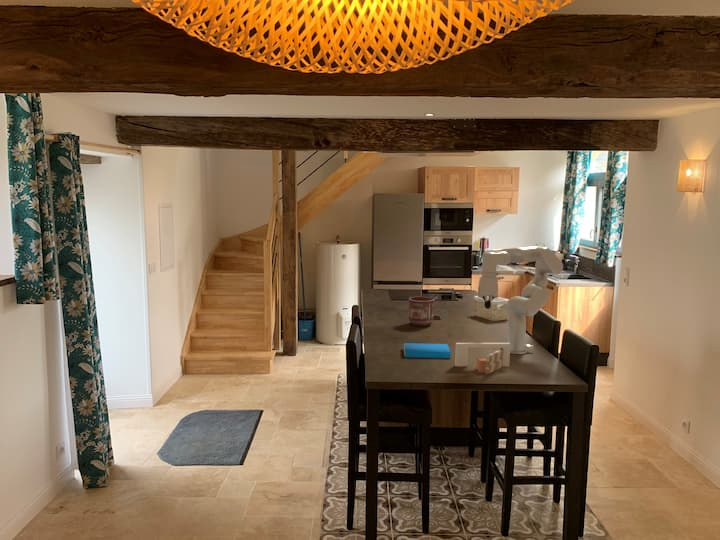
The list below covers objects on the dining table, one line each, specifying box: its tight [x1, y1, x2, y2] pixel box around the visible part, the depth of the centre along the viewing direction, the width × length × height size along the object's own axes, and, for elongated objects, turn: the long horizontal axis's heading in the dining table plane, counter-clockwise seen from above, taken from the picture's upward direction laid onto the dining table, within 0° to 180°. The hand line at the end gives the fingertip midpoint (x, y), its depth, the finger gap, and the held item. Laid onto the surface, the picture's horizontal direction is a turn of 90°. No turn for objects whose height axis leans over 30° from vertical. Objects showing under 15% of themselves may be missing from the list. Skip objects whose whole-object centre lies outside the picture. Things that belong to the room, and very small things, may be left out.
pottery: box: [408, 296, 436, 328], centre depth 391 cm, size 18×18×18 cm
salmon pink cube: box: [476, 356, 486, 373], centre depth 293 cm, size 5×6×6 cm
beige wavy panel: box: [484, 348, 504, 375], centre depth 293 cm, size 18×2×10 cm, turn 142°
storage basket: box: [473, 295, 509, 322], centre depth 416 cm, size 24×16×15 cm
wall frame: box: [454, 342, 511, 367], centre depth 300 cm, size 28×2×12 cm, turn 92°
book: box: [403, 342, 452, 359], centre depth 322 cm, size 17×4×25 cm
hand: (487, 308), depth 314 cm, fingers closed
